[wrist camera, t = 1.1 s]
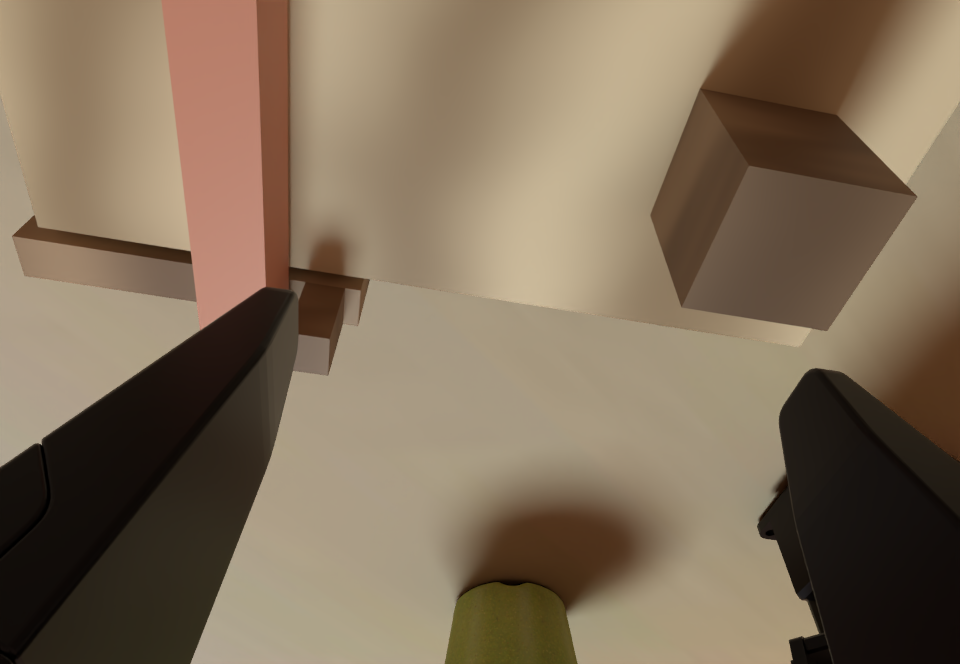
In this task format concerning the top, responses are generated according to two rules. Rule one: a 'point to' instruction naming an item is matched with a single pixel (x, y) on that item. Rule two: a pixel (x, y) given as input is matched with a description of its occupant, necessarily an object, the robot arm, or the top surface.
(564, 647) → the plant pot
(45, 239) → the toolbox
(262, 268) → the bar
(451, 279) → the lid
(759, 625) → the top surface
